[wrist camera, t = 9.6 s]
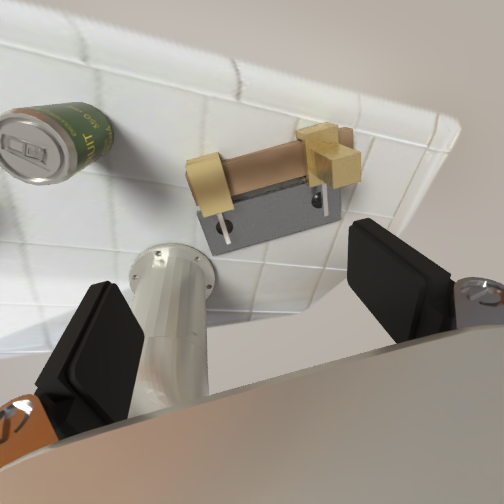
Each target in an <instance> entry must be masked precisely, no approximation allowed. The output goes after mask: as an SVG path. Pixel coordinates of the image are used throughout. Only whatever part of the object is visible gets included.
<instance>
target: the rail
mask: <svg viewBox="0 0 504 504" xmlns="http://www.w3.org/2000/svg"><path fill="white" fill-rule="evenodd" d="M338 140H339V144H341V145H344V146H346V147H349V148H351V149H353V129H351V128H347V127H343V128H340V129H338ZM185 168H186V175H185V176H186V179H187V181H188V184H189V187H190V189H191V192H192V195H193V197H194V200H195V203H196V205H197V206H198V205H199V206H200V209H201V212H202V215H203V217H208V216H211V215H215V214H217V216H218V219H219V222H220V225H221V228H222V231H223V234H224V237H225V240H226V243H227V244H230V243H231V241H230V238H229V234H228V231H227V228H226V225H225V222H224V219H223V216H222V212H225V211H229V210H233V209H234V206H233V203H232V199H231V196H234V195H237V194H241V193H244V192H248V191H252V190H255V189H259V188H262V187H266V186H269V185H273V184H276V183H280V182H284V181H287V180H291V179H294V178H298V177H301V176H305V175H306V171H305V161H304V152H303V143H302V140H297V141H293V142H289V143H286V144H282V145H279V146H275V147H271V148H268V149H264V150H261V151H257V152H254V153H250V154H246V155H243V156H239V157H236V158H232V159H228V160H225V161H220V157H219V154H218V152H216V153H212V154H209V155H205V156H202V157H198V158H194V159H191V160H187V161H186V167H185Z"/></svg>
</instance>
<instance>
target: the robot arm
mask: <svg viewBox="0 0 504 504" xmlns="http://www.w3.org/2000/svg"><path fill="white" fill-rule="evenodd" d="M450 277H451V274H450V273H449V272H447V271H446V270H444V269H443V268H441V267H440V266H438V265H437V264H436V263H434V262H433V261H431V260H430V259H428V258H427V257H425V256H424V255H422V254H421V253H419V252H418V251H417V250H415V249H414V248H412V247H411V246H409V245H408V244H406V243H405V242H404V241H402V240H401V239H399V238H398V237H396V236H395V235H393V234H392V233H391V232H389V231H388V230H386V229H385V228H383V227H382V226H380V225H379V224H377V223H376V222H375V221H373V220H372V219H370V218H365V219H361V220H357V221H354V222H353V224H352V226H350V227H349V237H348V267H347V281H348V284H349V286H350V287H351V288H352V290H353V291H354V292H355V293H356V295H357V296H358V297H359V298H360V299H361V301H362V302H363V303H364V304H365V306H366V307H367V308H368V309H369V310H370V312H371V313H372V314H373V315H374V316H375V318H376V319H377V320H378V321H379V323H380V324H381V325H382V326H383V328H384V329H385V330H386V331H387V332H388V334H389V335H390V336H391V337H392V339H393V340H394V341H395V342H396V343H397V344H394V345H390V346H386V347H383V348H379V349H375V350H372V351H368V352H364V353H361V354H357V355H353V356H350V357H346V358H342V359H339V360H335V361H331V362H328V363H324V364H320V365H317V366H313V367H309V368H306V369H302V370H299V371H295V372H291V373H288V374H284V375H281V376H277V377H274V378H270V379H267V380H263V381H259V382H256V383H252V384H248V385H245V386H241V387H238V388H234V389H231V390H227V391H223V392H220V393H216V394H213V395H209V388H208V366H207V365H208V364H207V331H206V299H207V298H208V297H209V296H210V294H211V293H212V291H213V289H214V284H215V274H214V269H213V267H212V264H211V263H210V261H209V260H208V259H207V258H206V257H205V256H204V255H203V254H202V253H201V252H199V251H197V250H196V249H194V248H191V247H189V246H185V245H181V244H162V245H158V246H154V247H152V248H150V249H147V250H146V251H144V252H143V253H142V254H140V255H139V256H138V258H137V259H136V260H135V262H134V263H133V265H132V268H131V270H130V274H129V282H130V286H131V289H132V291H133V293H134V294H135V296H134V299H133V302H132V305H131V309H130V307H129V305H128V303H127V302H126V300H125V298H124V296H123V295H122V293H121V291H120V290H119V288H118V286H117V285H116V284H115V283H113V284H112V283H111V282H109V281H105V282H101V283H97V284H93V285H91V286H90V287H89V289H88V291H87V293H86V294H85V296H84V298H83V300H82V301H81V303H80V305H79V307H78V308H77V310H76V312H75V314H74V316H73V317H72V319H71V321H70V323H69V324H68V326H67V328H66V330H65V331H64V333H63V335H62V337H61V338H60V340H59V342H58V344H57V345H56V347H55V349H54V351H53V352H52V354H51V356H50V358H49V360H48V362H47V363H46V365H45V367H44V368H43V370H42V372H41V374H40V375H39V377H38V379H37V381H36V383H35V385H36V386H37V387H38V388H37V390H36V392H35V393H34V395H32V394H27V395H22V396H19V397H17V398H15V399H12V400H11V401H9V402H7V403H6V404H4V405H3V406H1V407H0V504H504V285H503V284H501V283H499V282H496V281H493V280H490V279H485V278H479V277H468V278H463V279H460V280H458V281H457V282H456V283H455V282H454V281H453V280H451V279H450Z"/></svg>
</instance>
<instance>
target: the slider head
mask: <svg viewBox="0 0 504 504" xmlns="http://www.w3.org/2000/svg"><path fill="white" fill-rule="evenodd" d="M296 138H298V139H300V140H302V143H303V152H304V161H305V171H306V175H305V176H301V180H302V181H303V182H304V183H305V184H306V185H307V186H309V187H314V186H317V185H320V187H321V200H322V212H323V216H324V217H325V216H328V199H327V185H328V186H330V187H331V188H332V189H336V188H339V187H343V186H346V185H350V184H353V183H357V182H361V152H359V151H357V150H354V149H351V148H349V147H346V146H344V145H341V144H339V140H338V125H335V124H331V123H328V122H325V123H322V124H318V125H315V126H311V127H307V128H304V129H300V130H297V131H296Z"/></svg>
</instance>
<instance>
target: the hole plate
mask: <svg viewBox="0 0 504 504" xmlns="http://www.w3.org/2000/svg"><path fill="white" fill-rule="evenodd" d="M327 199H328V216H325V217H324V216H323V212H322V200H321V187H320V185H317V186H314V187H309V186H307V185H306V184H305V183H304V182H299V183H296V184H292V185H289V186H285V187H281V188H278V189H274V190H271V191H267V192H264V193H260V194H257V195H253V196H250V197H246V198H242V199H239V200H235V201H232V203H233V206H234V209H233V210H229V211H225V212H222V216H223V219H224V222H225V225H226V228H227V231H228V234H229V238H230V241H231V243H230V244H227V243H226V240H225V237H224V234H223V231H222V228H221V225H220V222H219V219H218V216H217V214H215V215H211V216H208V217H203V215H202V212H201V210H200V211H197V216H198V219H199V221H200V224H201V226H202V229H203V232H204V234H205V237H206V240H207V242H208V245H209V248H210V250H211V253H212V256H214V255H218V254H221V253H225V252H228V251H232V250H235V249H239V248H242V247H246V246H249V245H252V244H256V243H259V242H263V241H266V240H270V239H273V238H277V237H280V236H284V235H287V234H291V233H294V232H298V231H301V230H305V229H308V228H312V227H315V226H319V225H322V224H326V223H329V222H333V221H336V220H340V219H341V215H340V187H339V188H336V189H332V188H331V187H330V186H328V185H327Z"/></svg>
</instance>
